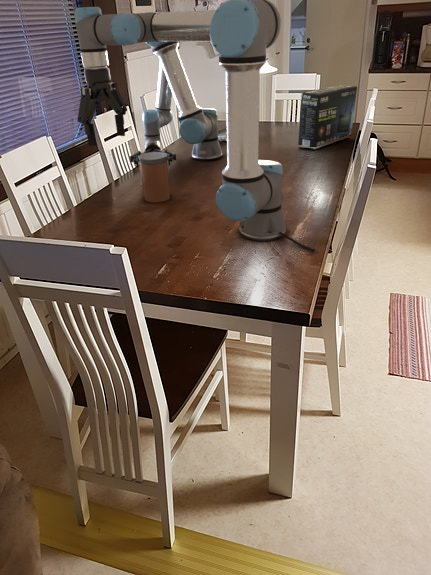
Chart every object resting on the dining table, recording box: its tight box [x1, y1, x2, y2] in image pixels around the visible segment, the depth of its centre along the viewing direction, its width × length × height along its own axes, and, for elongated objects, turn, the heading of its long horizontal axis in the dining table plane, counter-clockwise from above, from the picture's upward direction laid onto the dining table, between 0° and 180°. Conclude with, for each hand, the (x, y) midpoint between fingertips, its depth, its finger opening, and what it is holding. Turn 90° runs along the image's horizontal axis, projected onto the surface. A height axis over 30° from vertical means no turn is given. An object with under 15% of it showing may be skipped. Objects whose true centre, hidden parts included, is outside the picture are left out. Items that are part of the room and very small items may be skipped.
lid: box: [139, 151, 168, 164], centre depth 173 cm, size 11×11×2 cm
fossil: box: [218, 131, 227, 142], centre depth 256 cm, size 18×11×15 cm
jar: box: [139, 160, 171, 203], centre depth 177 cm, size 10×10×16 cm
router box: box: [297, 84, 358, 151], centre depth 238 cm, size 36×11×27 cm, turn 134°
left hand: (153, 163), depth 195 cm, fingers open, 13 cm apart
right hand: (107, 140), depth 148 cm, fingers open, 13 cm apart
